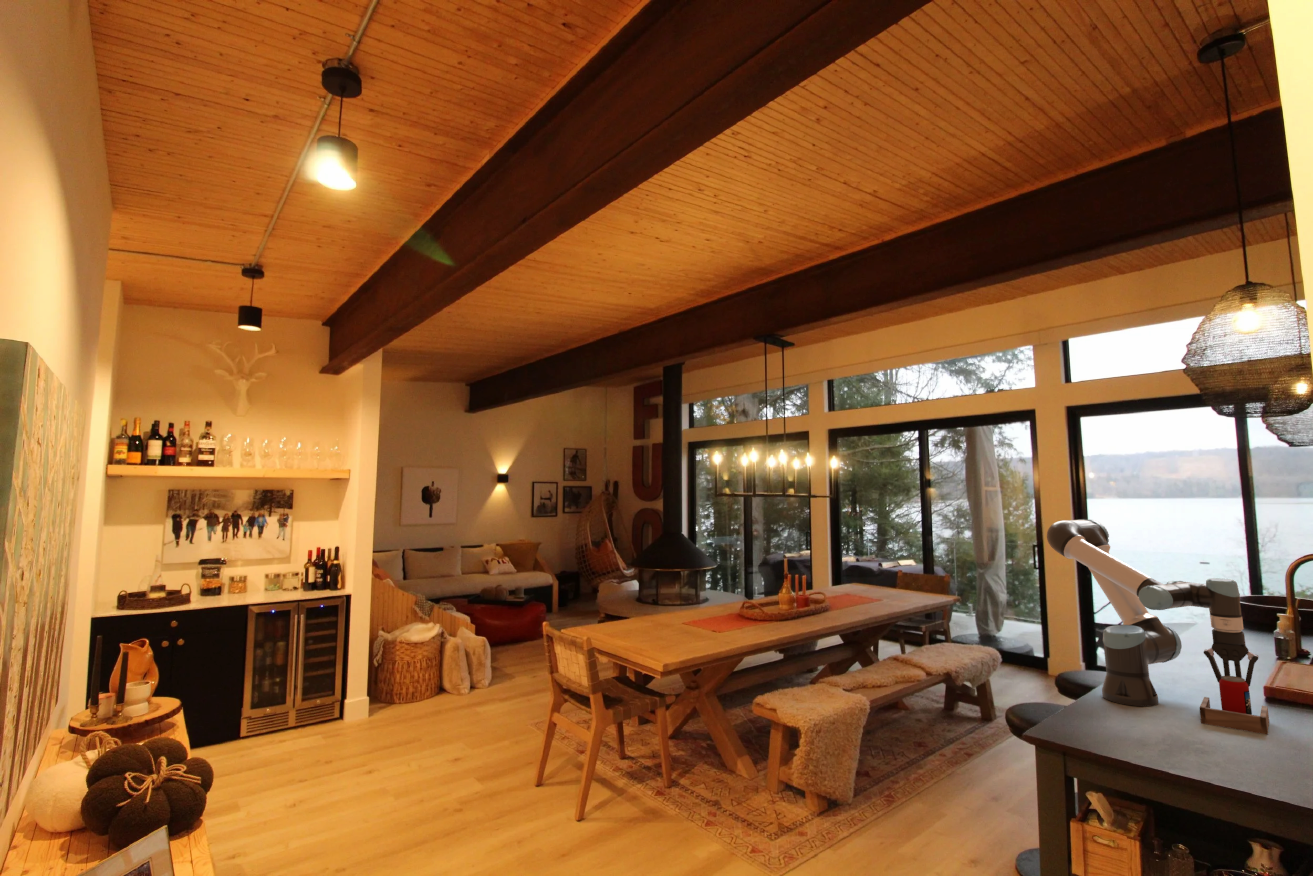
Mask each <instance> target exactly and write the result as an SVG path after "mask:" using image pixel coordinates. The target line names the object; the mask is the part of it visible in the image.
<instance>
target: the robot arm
mask: <svg viewBox="0 0 1313 876" xmlns="http://www.w3.org/2000/svg"><path fill="white" fill-rule="evenodd" d="M1109 538H1110V534H1109V532H1108V530H1107V528H1106V527H1105V526H1104V524H1102V523H1101V522H1099V521H1097V520H1094V519H1087V518H1078V519H1064V520H1063V519H1062V520H1057V521H1056V522H1053V523H1052V524H1051V525H1050V526H1049V528H1048V529H1047V532H1046V540H1047V542H1048V544H1049V546H1050V548H1052V549H1053V551H1055V552H1056V553H1058V554H1059V555H1061V556H1063V557H1064V558H1066V559H1069V560H1071V559H1074V560H1075V561H1077V562H1079V563H1080V564H1082V565H1083V566H1086V568H1088V570H1089V571H1090V573H1091V575H1092V576H1093V577H1094V579H1095V581H1096V582H1097V584H1098V585H1099V587H1100V589H1101V590H1102V592H1103V593H1104V595H1105V597H1106V598H1107V599H1108V601H1109V603H1110V604H1111V606H1112V608H1113V609H1114V611H1115V612H1116V613H1117V616H1118V617H1119V619H1120V620H1121V621H1122V624H1121V625H1119V624H1115V625H1110V626H1107V627H1105V629H1103V631H1102V643H1103V651H1104V661H1105V663H1104V664H1105V670H1106V671H1105V672H1106V674H1105V677H1104V681H1103V684H1102V687H1101V694H1102V697H1103V698H1104V699H1105V700H1107V701H1110V702H1113V703H1116V704H1120V705H1126V706H1132V707H1133V706H1134V707H1153V706H1157V705H1159V703H1160V702H1159V696H1158V693H1157V691H1156V689H1155V687H1154V685H1153V683H1152V681H1151V678H1150V672H1149V665H1153V664H1158V663H1162V664H1163V663H1167V662H1170V661H1173V660H1175V659H1176V658H1178V657H1179V656H1180V654H1181V651H1182V645H1183V644H1182V641H1181V638H1180V636H1179V634H1178V633H1177V631H1175V629H1173V628H1172V627H1169V626H1168V625H1165V624H1163V623H1162V622H1161V620H1160V619H1159V617H1158V616H1156V615H1153V614H1151V613H1150V612H1149V611H1148V610H1152V611H1166V610H1169V609H1177V608H1183V607H1184V608H1185V607H1197V608H1205V609H1208V610H1209V619H1210V625H1211V626H1210V627H1211V628H1212V630H1211V634H1212V642H1213V643H1212V645H1211V647H1210V648H1208V649H1206V648H1205V649H1204V650H1203V654H1204V655H1205V657H1206V658H1207V659H1208V661H1209V663H1210V665H1211V668H1212V672H1213V674H1214V676H1215V679H1216V680H1217V681H1216V682H1217V683H1219V681H1220V679H1221V677H1222V676H1231V671H1230V670H1231V669H1230V661H1231V662H1233V666H1234V671H1235V677H1240V678H1243V676H1242V668H1241V661H1242V660H1243V659H1244V658H1245V657H1246V656H1247V660H1249V661H1248V665H1247V666H1248V667H1247V671H1246V676H1245V681H1246V683H1247V684H1248V686H1249V687H1250V686H1251V682H1252V677H1253V674H1254V673H1253V672H1254V668H1255V664H1256V663H1257V661H1258V660H1259V655H1258V654H1256V653H1255V654H1254V653H1252V652H1251V651H1250V650H1249V648H1248V647H1247V645H1246V639H1245V636H1246V635H1245V633H1244V631H1243V630H1244V629H1245V628H1244V621H1243V616H1242V608H1241V598H1240V596H1241V594H1240V591H1239V586H1238V583H1237V581H1236V580H1235V579H1230V578H1220V577H1219V578H1218V577H1217V578H1215V577H1213V578H1207V579H1206V580H1205V583H1200V582H1199V583H1197V582H1190V581H1189V582H1188V581H1183V580H1169V581H1168V582H1166V583H1165V584H1163V583H1161V582H1160V581H1158V580H1156V579H1154V578H1152V577H1151V576H1149V575H1147V574H1145V573H1144V572H1141V571H1140V570H1138V569H1136V568H1135V567H1132V566H1131V565H1129V564H1128V563H1126V562H1124V561H1122V560H1120V559H1118V558H1117V557H1114V556H1113V555H1111V554H1110V550H1111V545H1110V544H1109V541H1110V539H1109ZM1215 654H1216V655H1217V656H1218V657H1219V658H1220V659H1221V660H1222V665H1223V673H1224V674H1223V675H1222V674H1221V671H1220V668H1219V666H1218V664H1217V661H1216V659H1215Z"/></svg>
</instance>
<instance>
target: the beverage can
mask: <svg viewBox="0 0 1313 876" xmlns="http://www.w3.org/2000/svg"><path fill="white" fill-rule="evenodd" d="M1245 680H1246V678H1243V677H1242V678H1240V677H1236V675H1235V676H1234V675H1230V676H1225V675H1222V677H1221V679H1220V681H1219V682H1218V686H1219V696H1220V697H1219V698H1220V705H1221V710H1225V711H1231V712H1237V713H1243V714H1250V715H1253V711H1252V702H1251V695H1250V686H1248V684H1247V683H1246V681H1245Z"/></svg>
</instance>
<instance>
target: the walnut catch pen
mask: <svg viewBox="0 0 1313 876" xmlns="http://www.w3.org/2000/svg"><path fill="white" fill-rule="evenodd" d="M1199 715H1200V724H1203V725H1210V726H1216V727H1220V728H1227V729H1232V730H1237V731H1238V730H1239V731H1244V732H1249V733H1256V734H1263V735H1269V728H1270V727H1269V726H1270V716H1269V707H1268V705H1261V709H1260V715H1255V714H1252V715H1250V714H1243V713H1237V712H1231V711H1225V710H1222V709H1219V708H1211V702H1210V697H1207V696H1204V697H1203V699H1202V700H1201V704H1200V706H1199Z"/></svg>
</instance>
